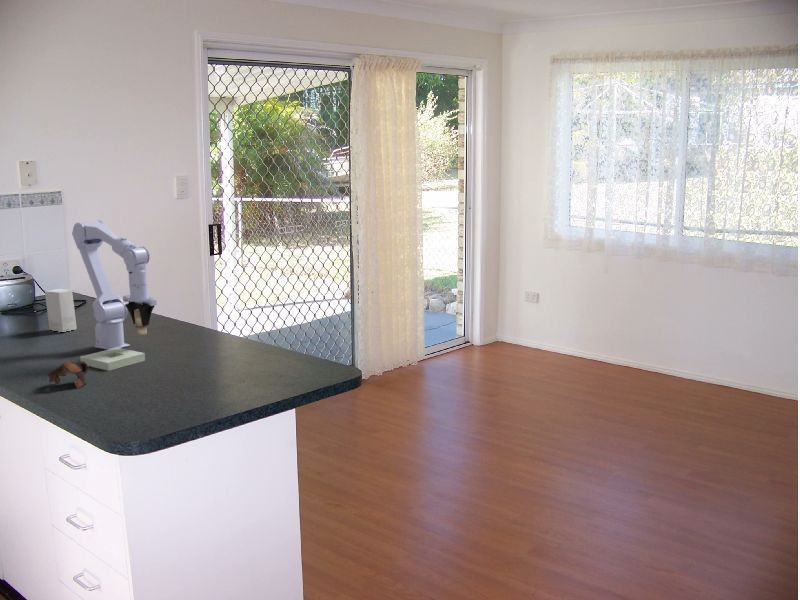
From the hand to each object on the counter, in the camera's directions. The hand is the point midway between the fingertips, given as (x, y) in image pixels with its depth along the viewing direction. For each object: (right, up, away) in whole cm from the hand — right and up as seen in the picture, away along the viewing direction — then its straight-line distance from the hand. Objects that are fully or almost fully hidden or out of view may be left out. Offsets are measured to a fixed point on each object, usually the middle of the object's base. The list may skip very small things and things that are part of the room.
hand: (141, 324), depth 276 cm
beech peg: (0, -3, +1) cm, 3 cm away
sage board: (-6, -12, -9) cm, 16 cm away
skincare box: (-41, -4, +37) cm, 55 cm away
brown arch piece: (-10, -17, -33) cm, 38 cm away
